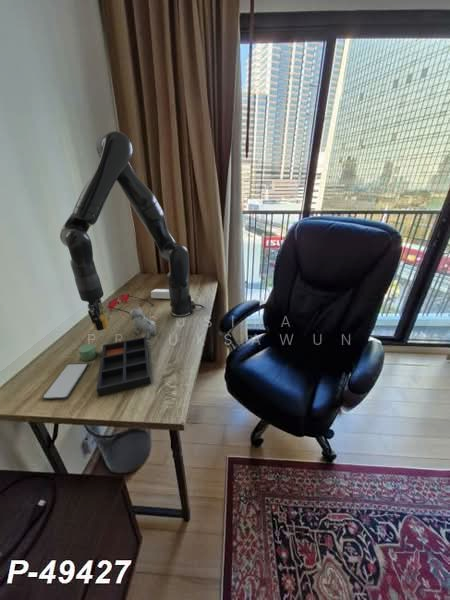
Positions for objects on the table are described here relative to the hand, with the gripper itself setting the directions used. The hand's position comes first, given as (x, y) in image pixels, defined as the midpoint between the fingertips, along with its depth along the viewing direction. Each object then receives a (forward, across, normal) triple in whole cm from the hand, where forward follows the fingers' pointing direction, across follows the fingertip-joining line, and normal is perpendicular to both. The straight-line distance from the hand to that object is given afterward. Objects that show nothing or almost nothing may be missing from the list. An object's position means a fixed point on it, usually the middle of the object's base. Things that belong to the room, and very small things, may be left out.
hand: (101, 325), depth 96 cm
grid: (+8, -17, -8) cm, 20 cm away
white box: (+9, +34, -28) cm, 45 cm away
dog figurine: (+8, +2, -15) cm, 17 cm away
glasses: (+8, +26, -10) cm, 29 cm away
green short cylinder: (+8, -7, +5) cm, 12 cm away
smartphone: (+8, -18, +10) cm, 22 cm away
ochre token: (0, 0, 0) cm, 0 cm away
